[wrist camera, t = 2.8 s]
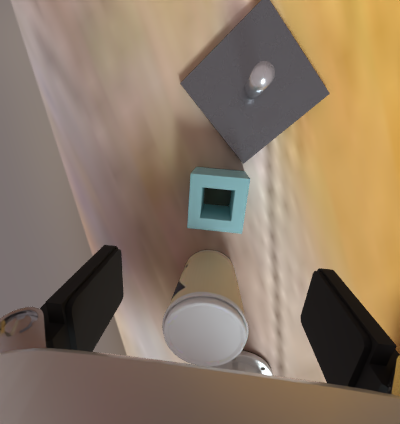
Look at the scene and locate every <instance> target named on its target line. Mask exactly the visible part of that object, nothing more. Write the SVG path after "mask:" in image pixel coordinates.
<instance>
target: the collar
mask: <svg viewBox="0 0 400 424" xmlns="http://www.w3.org/2000/svg"><path fill="white" fill-rule="evenodd" d="M249 183H250V178H249V177H248V175H247V174H246V173H245V171H238V170H227V169H216V168H204V167H196V168H195V169H194V170H193V171H192V173H191V176H190V192H189V208H188V224H187V228H192V229H202V230H212V231H221V232H231V233H240V234H242V230H243V223H244V216H245V210H246V203H247V196H248V190H249ZM205 188H214V189H225V190H231V196H230V204H229V206H224V205H214V204H204V193H205Z"/></svg>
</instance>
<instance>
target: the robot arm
mask: <svg viewBox="0 0 400 424" xmlns="http://www.w3.org/2000/svg"><path fill="white" fill-rule="evenodd" d="M122 299H123V278H122V258H121V250H119V249H118V248H117V246H110V245H104V246H103V247H102V248H101V249H100V250H99V251H98V252H97V253H96V254H95V255H94V256H93V257H92V258H91V259H90V260H88V262H86V263H85V264H84V265H83V266H82V267H81V268H80V269H79V270H78V271H77V272H76V273H75V274H74V275H73V276H72V277H71V278H70V279H69V280H68V281H67V282H66V283H65V284H64V285H63V286H62V287H61V288H60V289H59V290H58V291H56V292H55V293H54V294H53V295H52V296H51V297H50V298H49V299H48V300H47V301H46V303H45V304H44V305H43V306H42V307H41V308H40V309H39V308H35V307H25V308H20V309H17V310H14V311H12V312H10V313H8V314H6V315H4V316H3V317H1V318H0V424H400V355H399V353H398V352H397V351H396V350H395V348H396V345H395V343H394V342H393V341H392V340H391V339H390V337H389V336H388V335H387V334H386V333H385V331H384V330H383V329H382V328H381V327H380V325H379V324H378V323H377V322H376V321H375V319H374V318H373V317H372V316H371V315H370V313H369V312H368V311H367V310H366V309H365V307H364V306H363V305H362V304H361V303H360V301H359V300H358V299H357V298H356V297H355V295H354V294H353V293H352V292H351V291H350V289H349V288H348V287H347V286H346V285H345V283H344V282H343V281H342V280H341V279H340V277H339V276H338V275H337V274H336V273H335V271H333V270H330V269H318V270H317V271H314V273H313V276H312V279H311V283H310V286H309V289H308V293H307V296H306V300H305V303H304V307H303V310H302V313H301V323H302V326H303V328H304V330H305V333H306V335H307V337H308V340H309V342H310V344H311V347H312V349H313V351H314V354H315V356H316V358H317V361H318V363H319V365H320V368H321V370H322V372H323V374H324V377H325V379H326V381H327V383H322V382H315V381H308V380H301V379H294V378H287V377H280V376H273V375H272V371H271V369H270V367H269V365H268V364H267V363H266V362H265V361H264V360H263V359H262V358H261V357H259V356H257V355H255V354H253V353H250V352H246V351H241V353H240V354H239V355H238V356H237V357H236V358H234V359H233V360H231V361H230V362H227V363H225V364H222V365H218V366H200V365H192V364H185V363H177V362H170V361H162V360H154V359H146V358H139V357H131V356H123V355H115V354H106V353H97V352H92V351H93V350H94V348H95V346H96V344H97V343H98V341H99V339H100V337H101V336H102V334H103V332H104V331H105V329H106V327H107V326H108V324H109V322H110V320H111V319H112V317H113V315H114V314H115V312H116V310H117V308H118V307H119V305H120V303H121V301H122Z"/></svg>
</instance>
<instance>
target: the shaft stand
mask: <svg viewBox="0 0 400 424" xmlns="http://www.w3.org/2000/svg"><path fill="white" fill-rule="evenodd" d="M180 84H181V85H182V86H183V88H184V89H185V90H186V91H187V93H188V94H189V95H190V97H191V98H192V99H193V100H194V102H195V103H196V104H197V105H198V107H199V108H200V109H201V111H202V112H203V113H204V114H205V116H206V117H207V118H208V119H209V121H210V122H211V123H212V125H213V126H214V127H215V128H216V130H217V131H218V132H219V133H220V135H221V136H222V137H223V139H224V140H225V141H226V142H227V144H228V145H229V146H230V147H231V149H232V150H233V151H234V153H235V154H236V155H237V156H238V158H239V159H240V160H241V161H242V163H245V162H246V161H247V160H248V159H250V158H251V157H252V156H253V155H255V154H256V153H257V152H258V151H260V150H261V149H262V148H263V147H264V146H266V145H267V144H268V143H269V142H271V141H272V140H273V139H274V138H276V137H277V136H278V135H279V134H281V133H282V132H283V131H284V130H285V129H287V128H288V127H289V126H290V125H292V124H293V123H294V122H295V121H297V120H298V119H299V118H300V117H301V116H303V115H304V114H305V113H306V112H308V111H309V110H310V109H311V108H313V107H314V106H315V105H316V104H318V103H319V102H320V101H321V100H322V99H324V98H325V97H326V96H327V95H329V94H330V93H329V92H328V90H327V88H326V87H325V85H324V84H323V82H322V81H321V79H320V78H319V76H318V75H317V73H316V71H315V70H314V68H313V67H312V65H311V64H310V62H309V61H308V59H307V57H306V56H305V54H304V53H303V51H302V50H301V48H300V47H299V45H298V43H297V42H296V40H295V39H294V37H293V36H292V34H291V33H290V31H289V29H288V28H287V26H286V25H285V23H284V22H283V20H282V19H281V17H280V15H279V14H278V12H277V11H276V9H275V8H274V6H273V5H272V3H271V2H270V0H261V1H260V2H259V3H258V4H257V5H256V6H255V7H254V8H253V9H252V10H251V11H250V12H249V13H248V15H247V16H246V17H245V18H244V19H243V20H242V21H241V22H240V23H239V24H238V25H237V26H236V27H235V28H234V29H233V30H232V31H231V32H230V33H229V34H228V35H227V36H226V37H225V38H224V39H223V40H222V41H221V42H220V43H219V44H218V45H217V46H216V47H215V48H214V49H213V50H212V51H211V52H210V53H209V54H208V55H207V57H206V58H205V59H204V60H203V61H202V62H201V63H200V64H199V65H198V66H197V67H196V68H195V69H194V70H193V71H192V72H191V73H190V74H189V75H188V76H187V77H186V78H185V79H184V80H183V81H182V82H181V83H180Z"/></svg>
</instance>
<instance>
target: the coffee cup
mask: <svg viewBox="0 0 400 424" xmlns="http://www.w3.org/2000/svg"><path fill="white" fill-rule="evenodd" d="M162 328H163V334H164V338H165V341H166V343H167V345H168V347H169V348H170V349H171V351H172V352H173V353H174V354H175V355H177V356H178V357H179V358H181V359H182V360H184V361H186V362H188V363H191V364H195V365H200V366H218V365H222V364H225V363H227V362H230V361H231V360H233V359H234V358H236V357H237V356H238V355H239V354H240V353H241V351H242V350H243V348H244V346H245V343H246V341H247V338H248V323H247V319H246V317H245V315H244V310H243V305H242V301H241V296H240V292H239V288H238V283H237V279H236V275H235V271H234V267H233V265H232V263H231V261H230V260H229V259H228V258H227V256H225V255H224V254H222V253H220V252H218V251H214V250H203V251H200V252H197V253H195V254H194V255H192V256H191V257H190V258H189V260H188V261H187V263H186V265H185V267H184V270H183V272H182V275H181V277H180V279H179V282H178V284H177V287H176V289H175V292H174V294H173V297H172V300H171V302H170V305H169V307H168V309H167V310H166V312H165V315H164V318H163V323H162Z"/></svg>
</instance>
